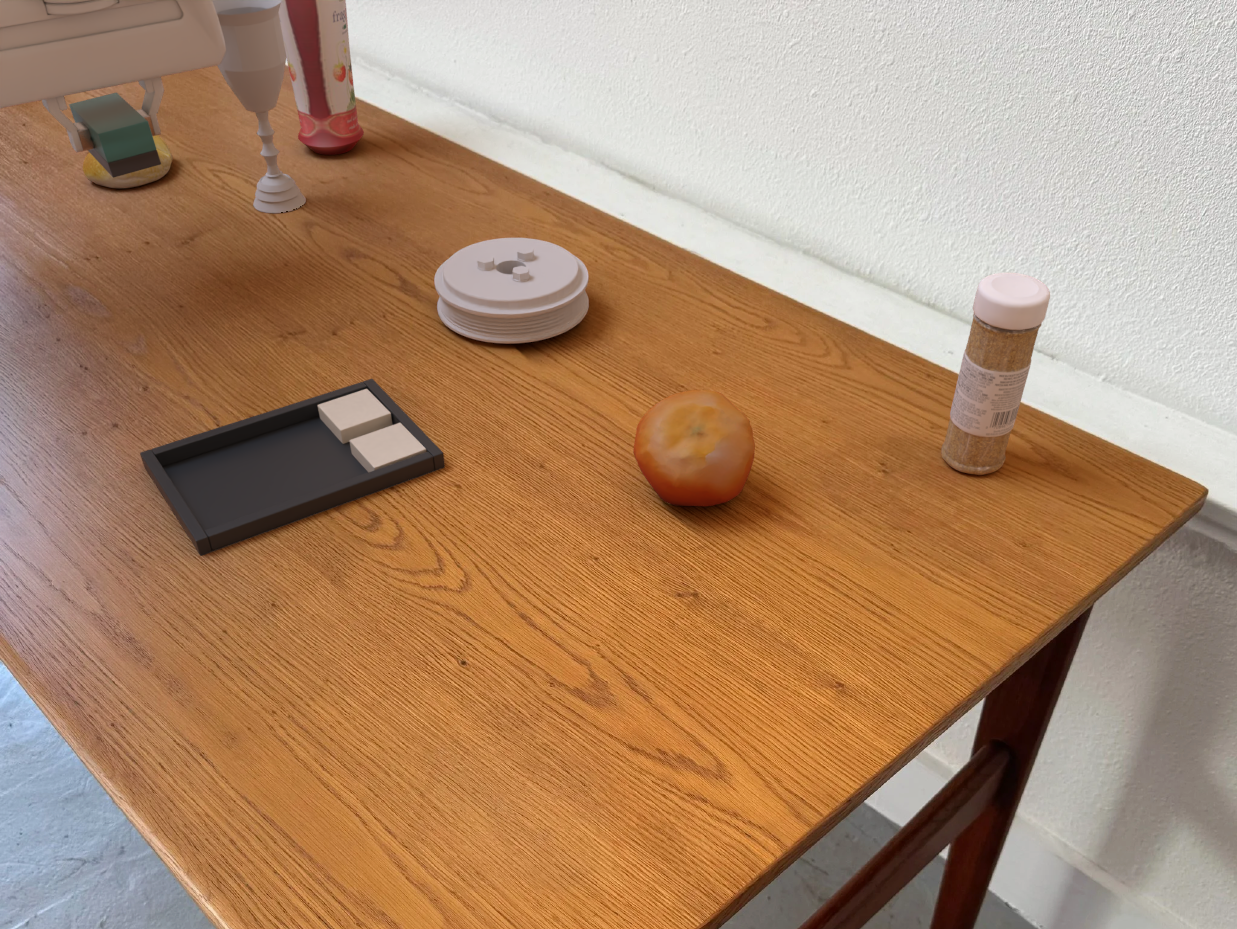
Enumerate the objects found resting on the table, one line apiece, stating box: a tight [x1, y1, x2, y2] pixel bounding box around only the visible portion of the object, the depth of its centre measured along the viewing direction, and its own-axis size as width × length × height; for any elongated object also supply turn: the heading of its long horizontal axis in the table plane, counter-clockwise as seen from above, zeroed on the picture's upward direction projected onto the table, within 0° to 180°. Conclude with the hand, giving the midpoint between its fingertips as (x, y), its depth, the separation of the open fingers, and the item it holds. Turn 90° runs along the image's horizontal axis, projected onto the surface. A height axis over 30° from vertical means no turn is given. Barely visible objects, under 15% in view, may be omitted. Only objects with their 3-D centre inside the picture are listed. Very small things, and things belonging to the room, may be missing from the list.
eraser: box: [68, 92, 161, 178], centre depth 96 cm, size 8×4×4 cm, turn 35°
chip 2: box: [349, 423, 426, 472], centre depth 83 cm, size 4×4×1 cm
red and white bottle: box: [278, 0, 365, 156], centre depth 116 cm, size 7×7×28 cm
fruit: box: [633, 388, 756, 507], centre depth 80 cm, size 8×8×8 cm
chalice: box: [212, 0, 307, 214], centre depth 109 cm, size 7×7×18 cm
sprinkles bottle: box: [940, 272, 1051, 476], centre depth 80 cm, size 5×5×14 cm
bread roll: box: [82, 135, 174, 189], centre depth 119 cm, size 8×9×4 cm
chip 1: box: [318, 389, 393, 444], centre depth 86 cm, size 4×4×1 cm
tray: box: [139, 378, 446, 557], centre depth 82 cm, size 18×12×2 cm, turn 124°
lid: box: [433, 237, 590, 344], centre depth 98 cm, size 13×13×5 cm
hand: (117, 141), depth 97 cm, fingers closed on eraser, 4 cm apart
